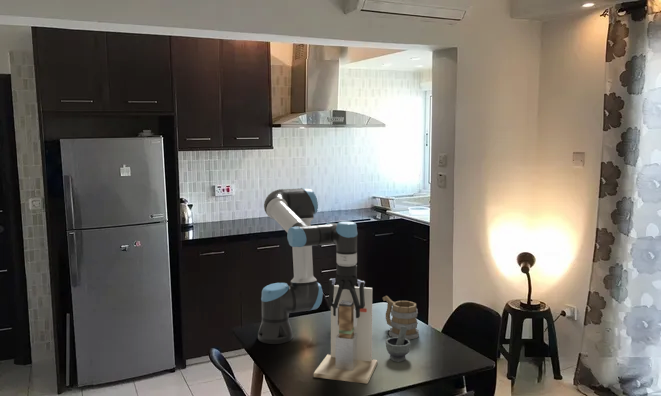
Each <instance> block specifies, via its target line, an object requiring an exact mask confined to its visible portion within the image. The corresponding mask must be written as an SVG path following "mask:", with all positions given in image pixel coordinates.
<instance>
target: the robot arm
mask: <svg viewBox="0 0 661 396" xmlns="http://www.w3.org/2000/svg"><path fill="white" fill-rule="evenodd" d="M318 202H319V201H318V198H317V196H316V193H315V192H314V191H313V190H312V189H311V188H304V187H301V188H285V189H284V188H281V189H276V190H273V191H272V192H271V193H269V194H268V195H267V196H266V198H265V199H264V203H263V209H264V212H265V214H266V215H267V216H268V217H269V218H270V219H272V220H275V221H276V223H278V225H280V226H281V228H283V230H284V231H285V232H286V233H287V237H286V238H287V242H288V245H289V246H290V247H292V262H293V264H292V266H293V277H292V279H291V280H290V285H289V284H288V283H287V282H275V283H270V284H268V285H266V286H264V287H263V288H262V290H261V297H260V300H261V323H260V326H259V329H258V332H257V339H258V341H259V342H261V343H262V344H270V345H278V344H279V345H280V344H284V343H288V342H291V341H292V339H293V338H294V332H293V328H292V326H291V323H290V320H289V319H290V317H289V315H290V314H291V313H300V312H306V311H308V312H310V311H312V310H317V309H318V308H319V307H320V305H322V302H323V294H324V293H323V288H322V285H321V283H319V282H318V279H317V278H316V277H315V276H314V265H313V263H314V262H313V247H314V246H323V245H325V246H326V245H335V246H336V269H335V270H336V275H335V277H334V278H332V277H331V278H330V279H328V281H327V283H328V286H329V288H328V302H327V304H328V306H329V307H331V306H332V307H333V315H334V316H336V326H338V325H339V306H338V307H337V305H338V303H339V299H340V296H341V293H342V290H343V289H347V290H350V293H351V295H352V298H353V302H354V305H355V309H354V327H356V326H357V318H359V317H360V309H363V308H364V306H365V297H364V287H365V285H366V281H365V280H361V279H359V278H358V265H357V263H358V228H357V227H358V225H357V223H356V222H355V221H354V222H353V221H339V222H337V223H336V222H328V223H325V224H316V225H315V224H314V225H311V222H312V221H313V220H314V218H315V217H314V215H316V214H317V212H319V210H318V209H319V203H318ZM335 284H336V285H339V288H338V292H337V295H336V298H335V301H334V302H333V297H334V285H335ZM356 285H358V286H357V287H359V293H360V304H359V301H358V297H357V294H356V291H355V287H356Z"/></svg>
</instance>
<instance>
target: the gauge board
mask: <svg viewBox="0 0 661 396" xmlns="http://www.w3.org/2000/svg"><path fill="white" fill-rule="evenodd" d="M338 288H339V285H338V284H336V285H335V284H334V297H333V302H334V301H335V298H336V295H337V292H338ZM355 291H356V294H357V297H358V301H359V304H360V293H359V286H355ZM364 297H365V306H364V308H363V309H360V317H359V318H357V326H356V327H354V333H357V360H362V361H372V355H373V354H372V353H373V287H366V286H364ZM342 300H343V301H353V298H352V295H351V293H350V290H347V289H343V290H342V293H341V296H340V299H339V303H340V302H341V301H342ZM339 303H338V305H337V307H338V306H339ZM354 309H355V305H354ZM338 334H339V325H338V326H336V316H334V315H333V307H332V306H330V355H331V357H335V358H336V336H337V335H338Z"/></svg>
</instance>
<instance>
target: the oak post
mask: <svg viewBox="0 0 661 396" xmlns="http://www.w3.org/2000/svg"><path fill="white" fill-rule="evenodd" d="M353 335H354V302H353V301H343V300H342V301H341V302H340V303H339V337H343V338H352V337H353Z"/></svg>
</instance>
